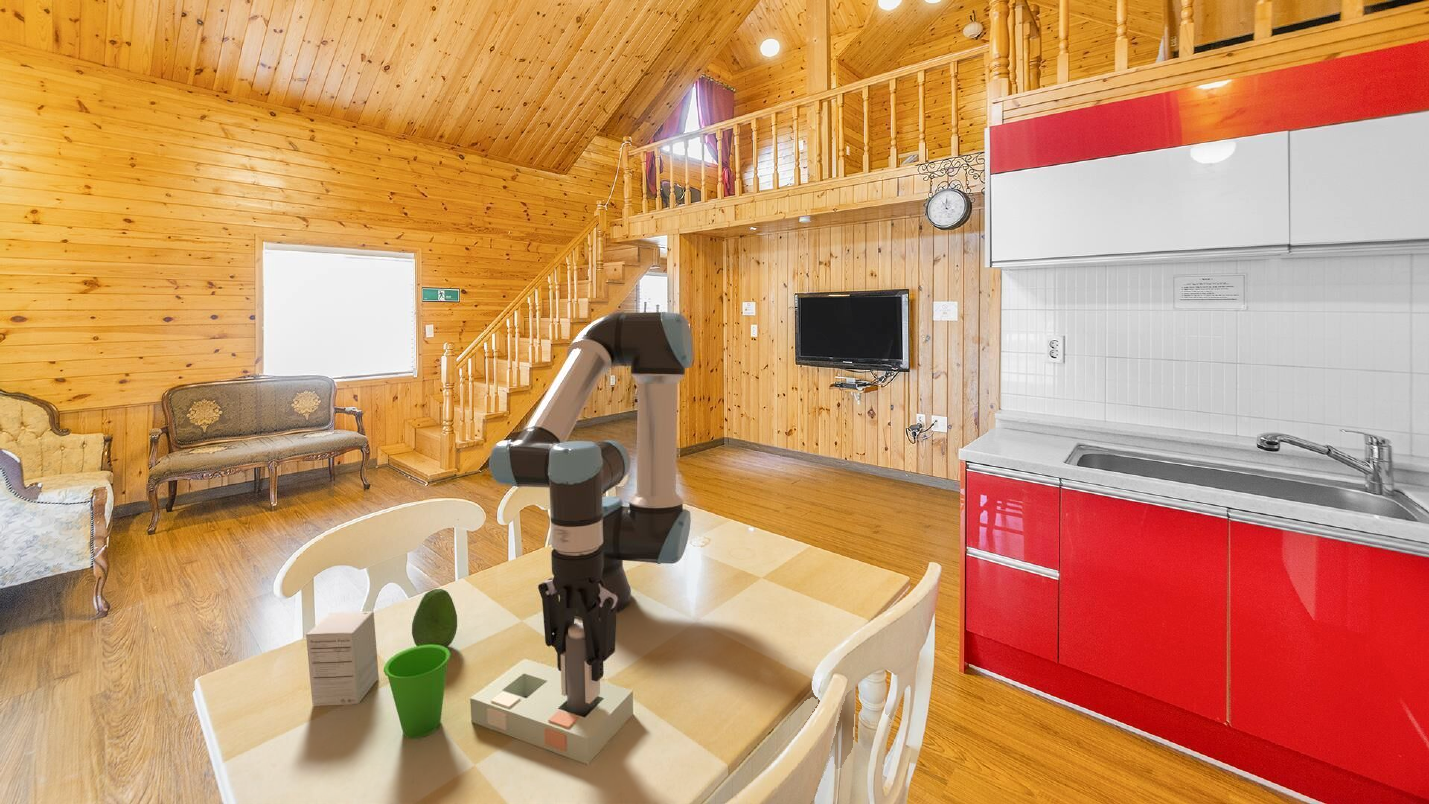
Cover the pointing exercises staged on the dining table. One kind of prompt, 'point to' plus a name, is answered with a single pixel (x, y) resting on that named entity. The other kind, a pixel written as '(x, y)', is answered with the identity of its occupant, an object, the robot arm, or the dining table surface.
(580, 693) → the plug
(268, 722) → the dining table surface
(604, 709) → the socket strip
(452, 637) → the fruit
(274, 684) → the dining table surface
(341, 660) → the supplement box
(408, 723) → the cup
